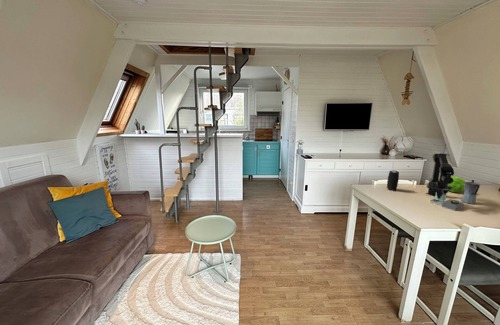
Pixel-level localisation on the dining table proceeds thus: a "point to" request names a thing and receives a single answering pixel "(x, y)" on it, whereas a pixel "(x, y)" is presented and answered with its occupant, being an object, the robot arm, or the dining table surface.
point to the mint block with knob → (441, 197)
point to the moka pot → (470, 192)
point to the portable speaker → (392, 180)
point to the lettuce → (457, 184)
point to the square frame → (448, 204)
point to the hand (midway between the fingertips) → (440, 198)
